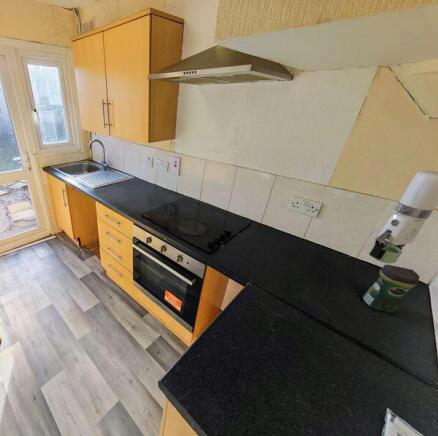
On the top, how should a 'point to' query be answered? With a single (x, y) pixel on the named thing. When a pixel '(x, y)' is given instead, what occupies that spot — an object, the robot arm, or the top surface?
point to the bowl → (389, 254)
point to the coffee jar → (390, 288)
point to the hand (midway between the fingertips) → (382, 255)
